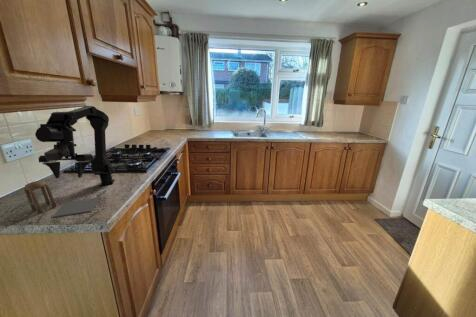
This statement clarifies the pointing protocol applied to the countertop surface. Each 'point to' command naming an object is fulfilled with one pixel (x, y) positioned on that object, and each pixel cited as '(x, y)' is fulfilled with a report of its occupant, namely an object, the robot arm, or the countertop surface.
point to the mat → (76, 207)
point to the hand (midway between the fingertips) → (68, 177)
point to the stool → (32, 187)
